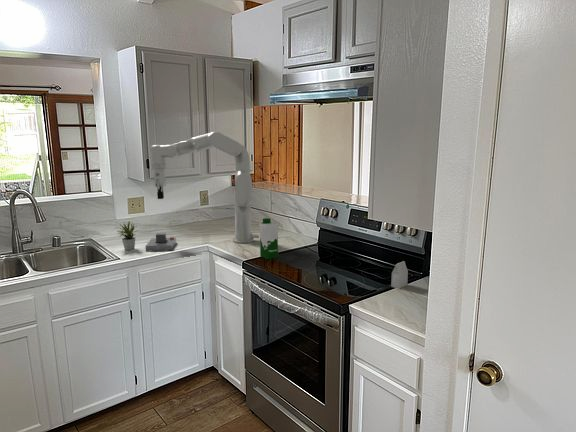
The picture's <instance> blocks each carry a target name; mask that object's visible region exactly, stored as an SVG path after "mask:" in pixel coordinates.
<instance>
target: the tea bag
mask: <svg viewBox="0 0 576 432" xmlns="http://www.w3.org/2000/svg"><path fill="white" fill-rule="evenodd" d="M408 275H409V271H408V268H407V265H406V261H404V260H402V261H401V262H398V263H396V264H395V266H394V268H393V270H392V272H391V280H390V281H391V283H390V287H391V288H394V289H401V288H404V287H406V286H407V285H408V279H409V276H408Z"/></svg>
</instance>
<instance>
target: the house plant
mask: <svg viewBox="0 0 576 432" xmlns="http://www.w3.org/2000/svg"><path fill="white" fill-rule="evenodd" d="M116 224H118V225H120V226H121V227H119V226H115V227H116V228H118V229H120V230H117V231H116V232H117V233H118V234H119V236H120V237H122V236H123V238H121V240H122V244H123V247H124V248H123V249H124V251H134V250H135V246H136V237H134V236H136V234H135V233H136V232H137V230H136V231H135V229H136V225H135V224H134V223H131V221H130V220H129V221H128V222H127V224H125V223H123V225H122V224H121V223H116ZM130 224H131V225H130Z"/></svg>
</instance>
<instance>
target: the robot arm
mask: <svg viewBox="0 0 576 432" xmlns="http://www.w3.org/2000/svg"><path fill="white" fill-rule="evenodd" d="M212 148H216V149H217V150H219V151H222V152H224V153H226V154H228V155H229V156H232V157H234V161H235V163H234V164H235V166H234V167H235V172H234V174H235V175H234V196H233V200H234V201H233V202H234V225H235V226H234V232H235V237H234V238H233V239H232V241H233V242H234V243H235V244H236V243H237V244H247V243H253V241H254V240H255V239H260V234H257V233H254V234H253V233H252V210H251V209H252V208H251V207H252V206H251V205H252V204H251V203H252V198H253V197H252V196H253V190H252V189H253V181H252V175H251V163H250V162H251V161H250V159H251V158H250V154H249V151H248V150H247V148H246V146H244V145H243V144H241V143H240V142H239V141H237V140H235V139H233V138H230V137H229V136H227V135H224V134H223V133H221V132H220V131H211V132H207V133H205V134H201V135H197V136H194V137H190V138H188V139H186V140H183V141H179V142H176V143H171V144H166V145H164V144H153V145H151V146H150V154H151V156H150V157H151V159H150V160H151V170H153V176H154V177H153V178H154V187H155V188H156V191H157V192H156V194H157V195H156V196H157V199H158V200H164V197H165V195H164V188H165V186H167V181H166V171H165V170H166V169H167V165H166V158H169V159H174V158H176V157H180V156H184V155H187V154H191V153H198V152H203V151H206V150H209V149H212Z"/></svg>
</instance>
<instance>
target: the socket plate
mask: <svg viewBox="0 0 576 432" xmlns="http://www.w3.org/2000/svg"><path fill="white" fill-rule="evenodd" d="M176 244H177V238H176V237H175V236H170V237H166V243H156V237H154V238H151V239H149V241H148V242H147V243H146V245H145V252H161V251H163V252H164V251H165V252H166V251H172V250H173V249H174V248H175V245H176Z"/></svg>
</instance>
